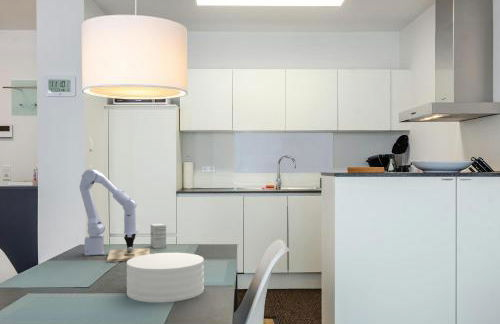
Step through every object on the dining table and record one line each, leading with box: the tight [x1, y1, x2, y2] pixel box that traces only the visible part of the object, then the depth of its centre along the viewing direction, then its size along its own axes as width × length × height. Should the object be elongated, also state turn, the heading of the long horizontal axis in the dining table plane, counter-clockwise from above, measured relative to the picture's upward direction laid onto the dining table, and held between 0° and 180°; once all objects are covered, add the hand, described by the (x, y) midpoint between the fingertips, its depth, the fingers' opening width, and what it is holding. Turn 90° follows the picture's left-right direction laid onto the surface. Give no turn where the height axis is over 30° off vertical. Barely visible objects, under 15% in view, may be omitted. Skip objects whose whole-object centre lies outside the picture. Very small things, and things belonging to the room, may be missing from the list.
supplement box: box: [150, 223, 167, 249], centre depth 255 cm, size 7×7×13 cm
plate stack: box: [126, 252, 205, 303], centre depth 167 cm, size 28×28×12 cm
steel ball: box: [126, 247, 134, 253], centre depth 231 cm, size 3×3×3 cm
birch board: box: [106, 247, 151, 263], centre depth 229 cm, size 20×24×2 cm
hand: (130, 249), depth 236 cm, fingers open, 6 cm apart
